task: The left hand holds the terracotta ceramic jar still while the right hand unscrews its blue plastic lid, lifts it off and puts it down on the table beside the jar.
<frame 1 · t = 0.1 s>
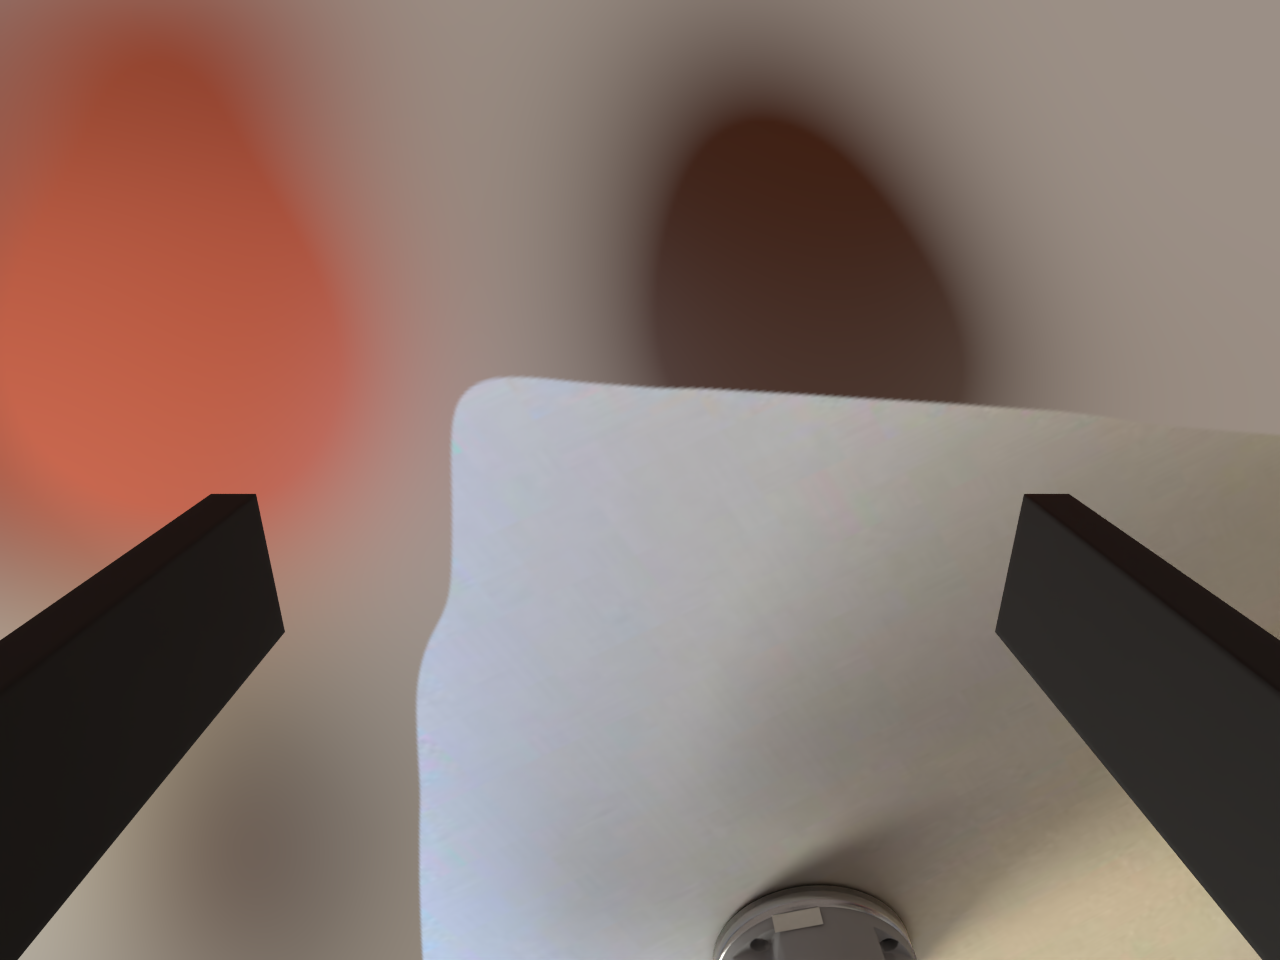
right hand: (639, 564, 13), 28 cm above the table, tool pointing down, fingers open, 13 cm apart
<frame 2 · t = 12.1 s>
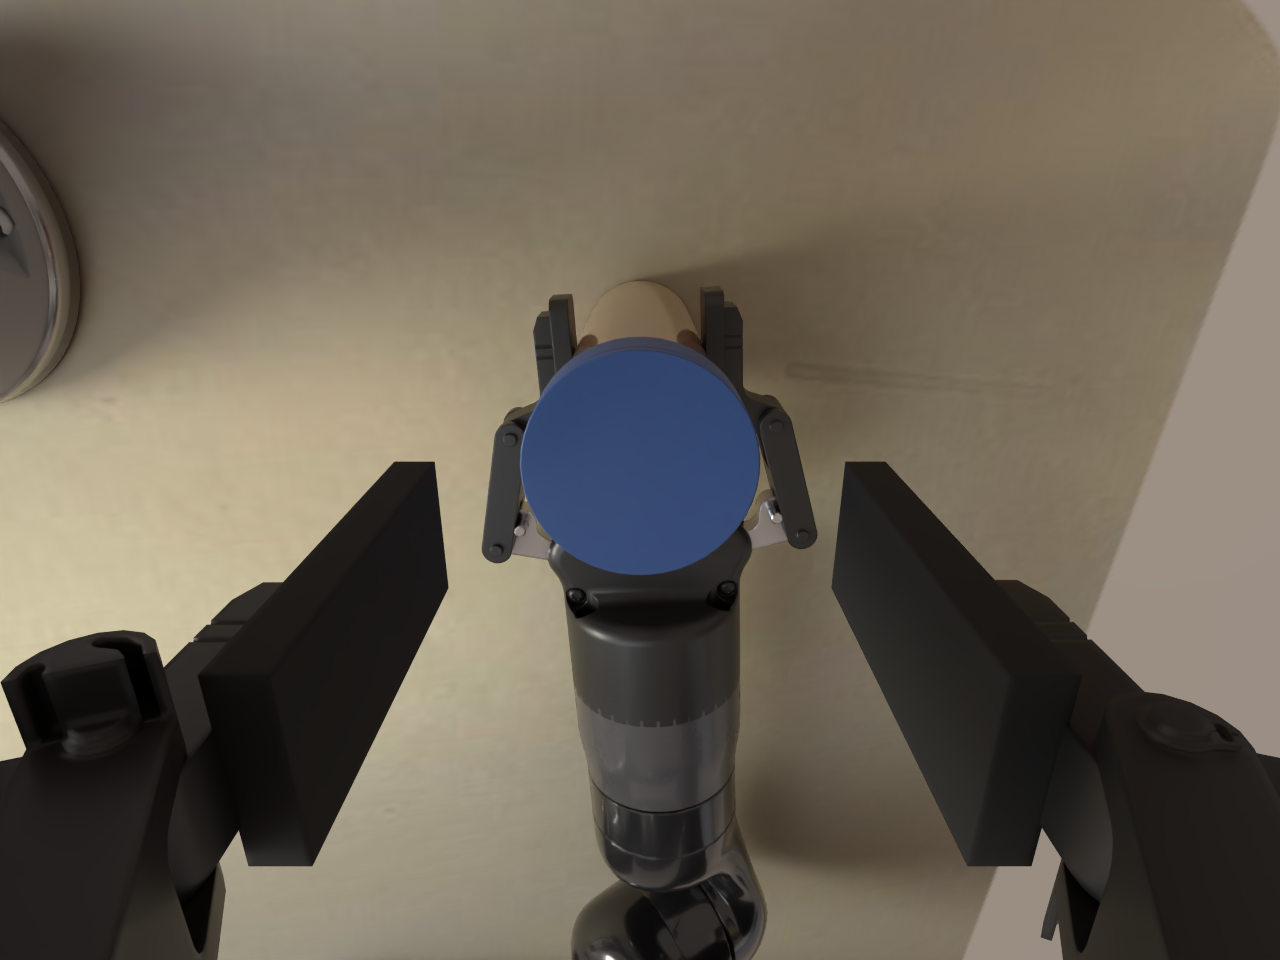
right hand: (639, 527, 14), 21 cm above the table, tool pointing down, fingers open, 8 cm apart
left hand: (635, 295, 27), fingers closed on jar, 5 cm apart
lid: (640, 464, 17), point 17 cm above the table, screwed on, not yet turned
jar: (639, 335, 34), on the table, touching left hand
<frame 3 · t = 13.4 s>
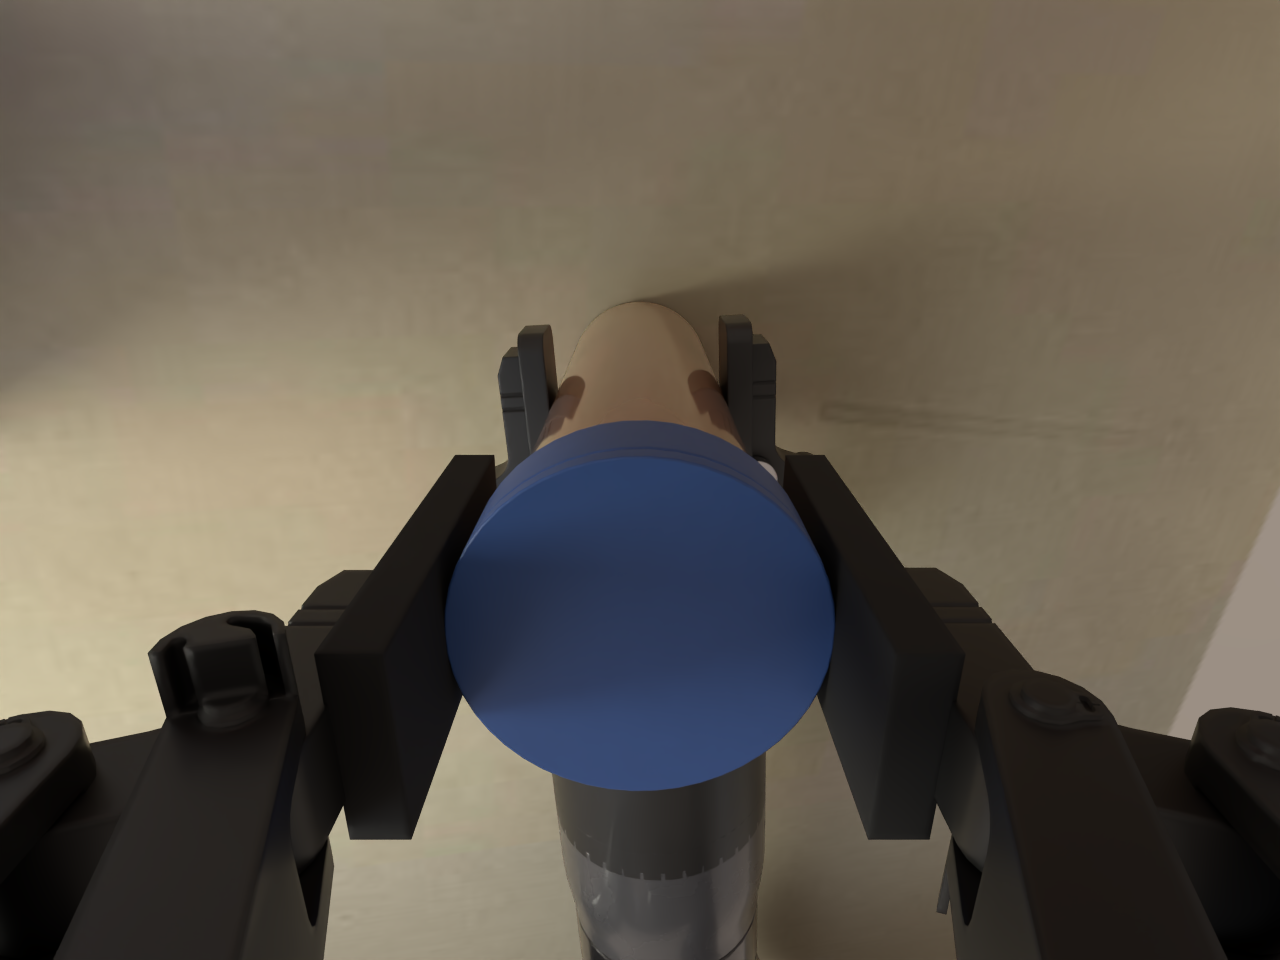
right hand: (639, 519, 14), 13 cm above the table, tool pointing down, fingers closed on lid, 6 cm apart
lid: (639, 627, 11), point 17 cm above the table, screwed on, not yet turned, touching right hand
jar: (639, 368, 27), on the table, touching left hand
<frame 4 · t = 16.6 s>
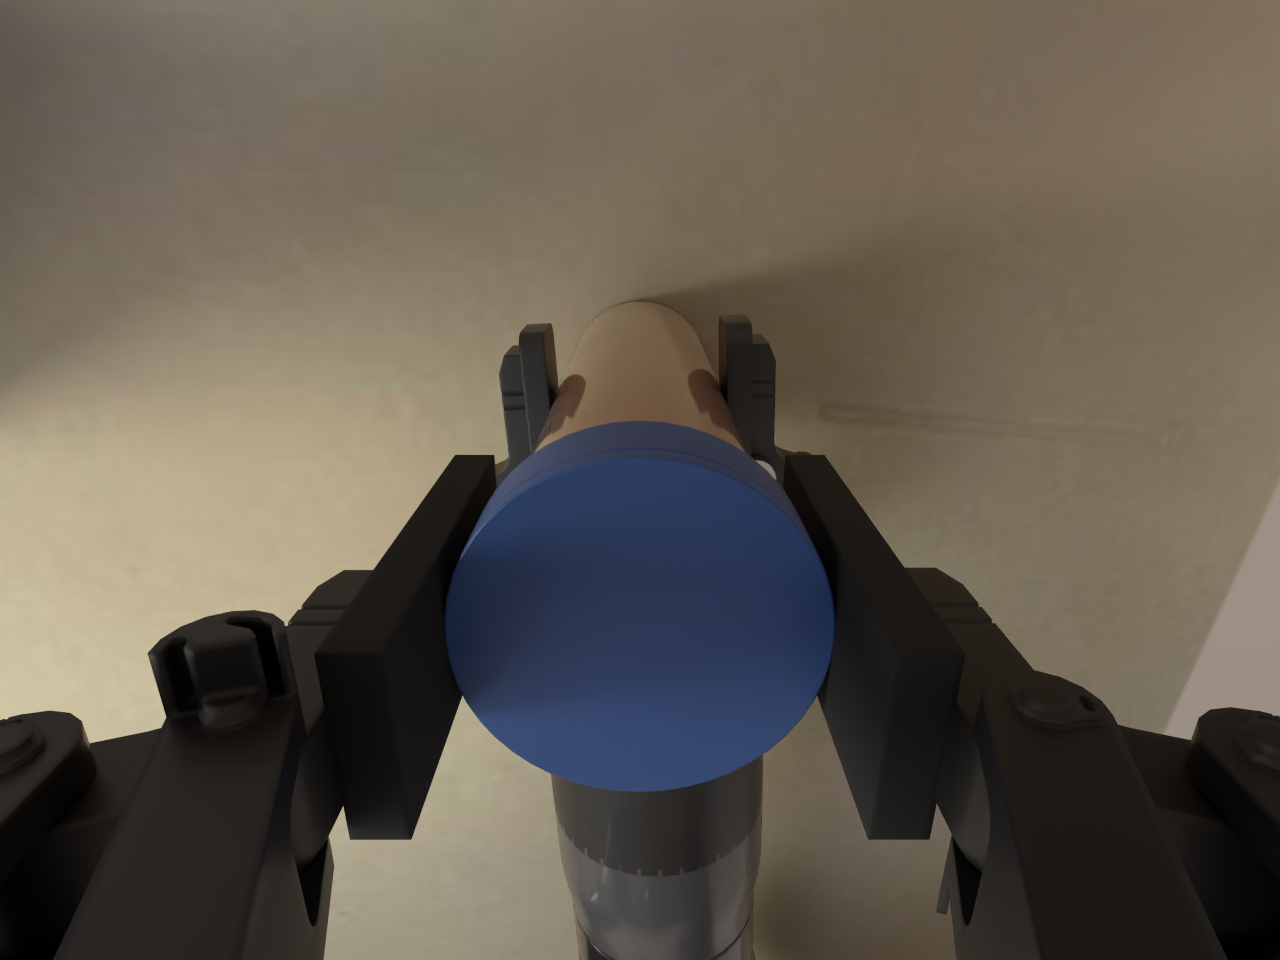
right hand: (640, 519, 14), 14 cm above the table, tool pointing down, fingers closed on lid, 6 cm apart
lid: (639, 628, 11), point 18 cm above the table, turned 93° so far, risen 0.2 cm, still on its thread, touching right hand
jar: (639, 368, 27), on the table, touching left hand
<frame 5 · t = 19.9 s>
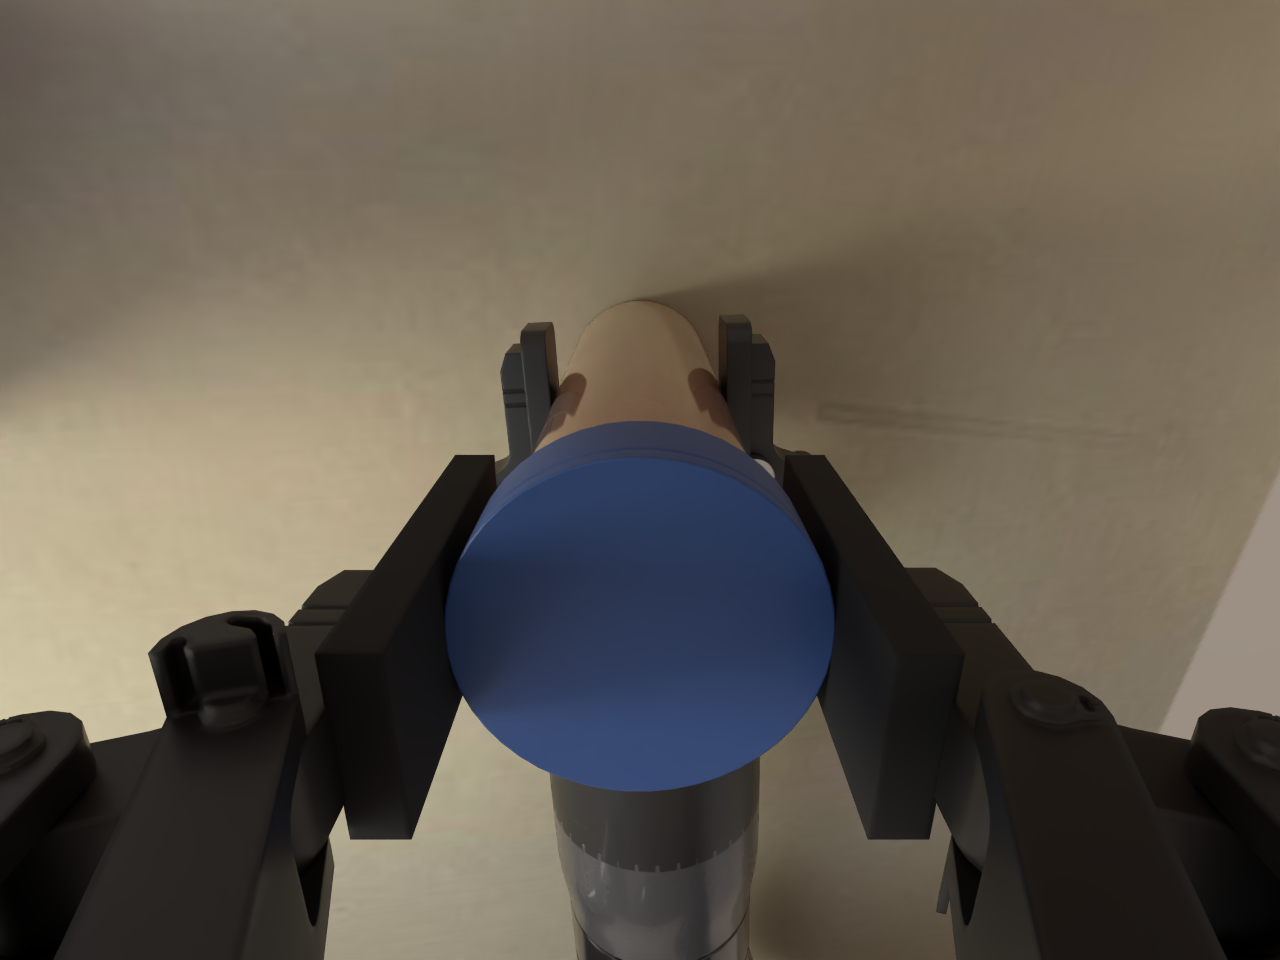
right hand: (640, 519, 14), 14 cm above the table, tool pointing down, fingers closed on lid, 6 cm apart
lid: (639, 628, 11), point 18 cm above the table, turned 187° so far, risen 0.3 cm, still on its thread, touching right hand
jar: (639, 367, 27), on the table, touching left hand
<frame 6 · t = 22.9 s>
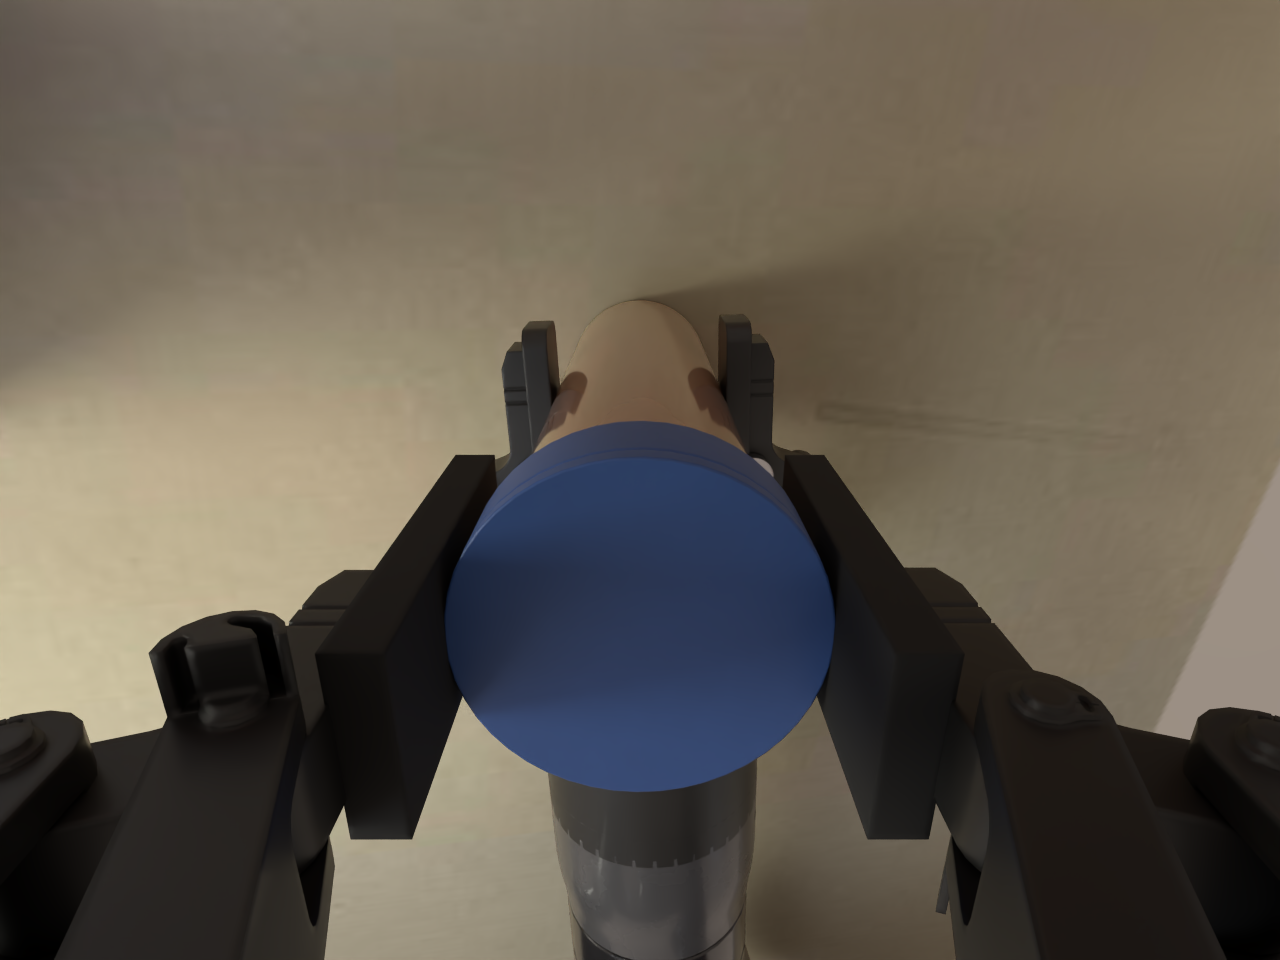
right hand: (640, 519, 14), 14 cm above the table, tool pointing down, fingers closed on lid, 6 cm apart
lid: (639, 628, 11), point 18 cm above the table, turned 280° so far, risen 0.5 cm, still on its thread, touching right hand
jar: (639, 366, 27), on the table, touching left hand
when the right hand's fingers open (0 cm above the table, at t = 31.1 s): lid drops 3 cm, point 1 cm above the table.
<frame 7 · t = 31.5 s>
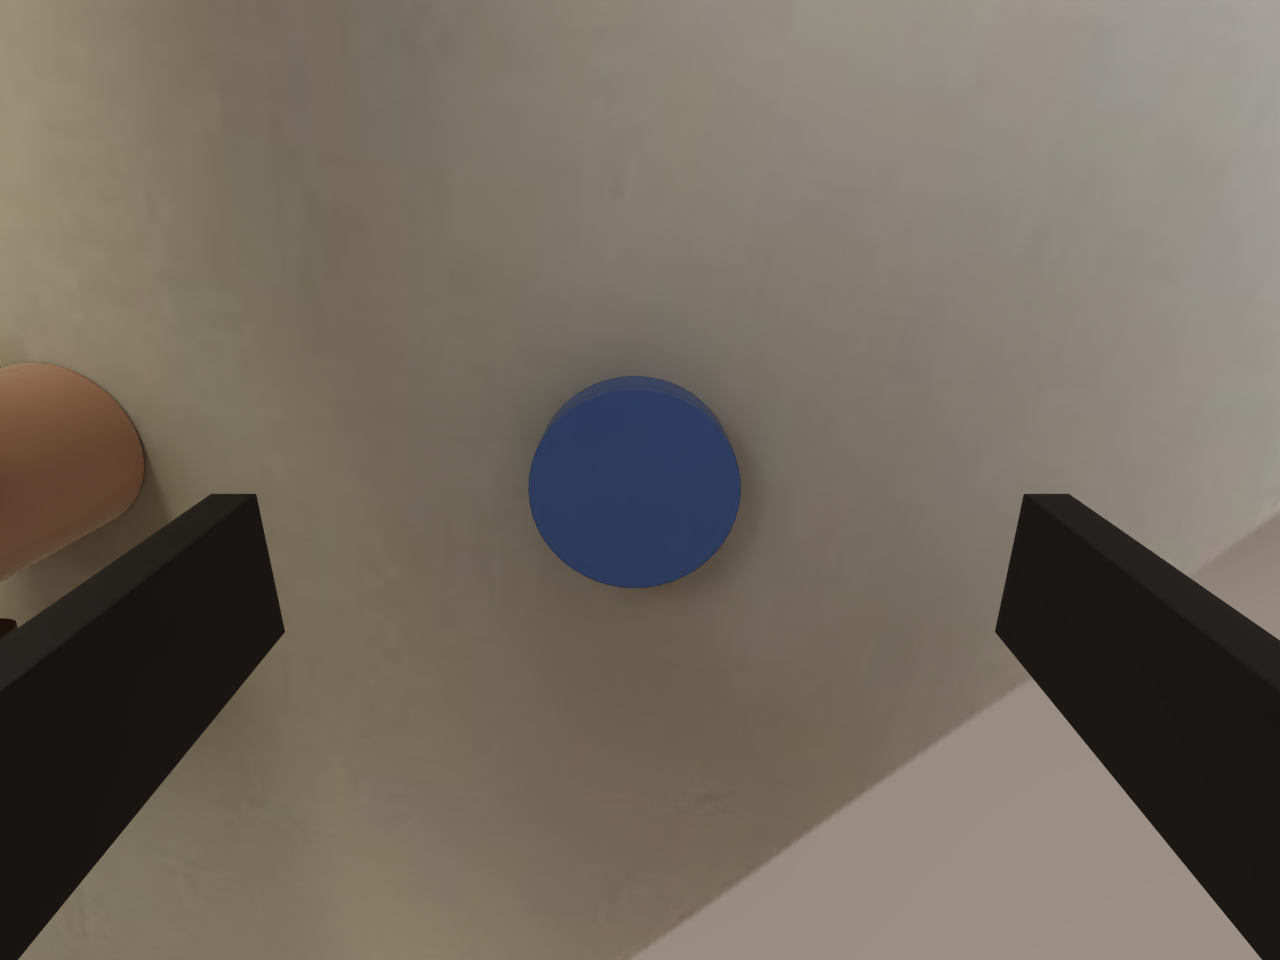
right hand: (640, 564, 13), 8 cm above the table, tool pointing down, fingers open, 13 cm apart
lid: (634, 489, 20), point 1 cm above the table, off its thread
jar: (56, 448, 21), on the table, touching left hand
when the left hand's fingers open (6 cm above the table, at t = 31.7 s): jar stays where it is, on the table.
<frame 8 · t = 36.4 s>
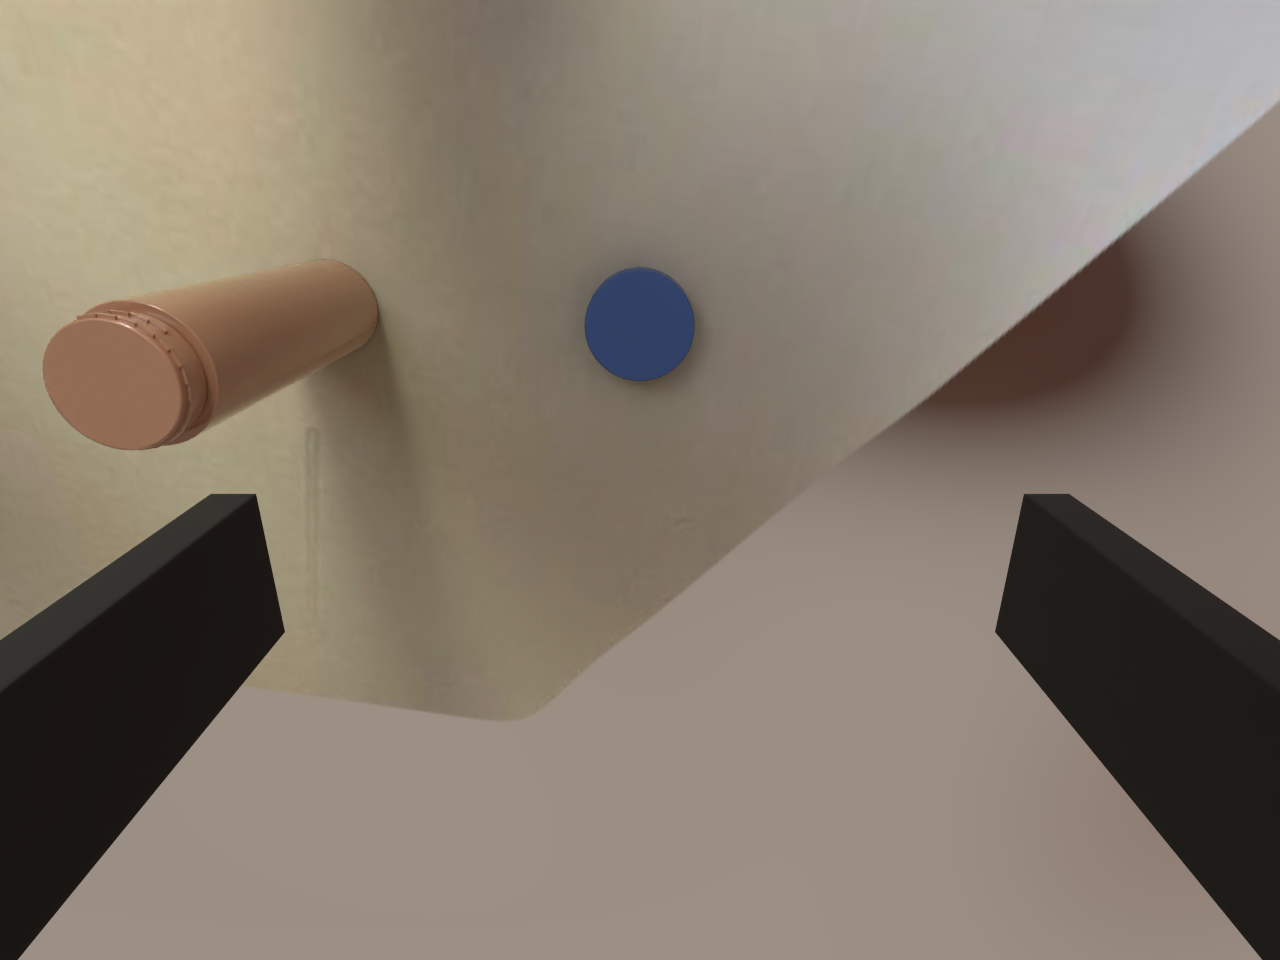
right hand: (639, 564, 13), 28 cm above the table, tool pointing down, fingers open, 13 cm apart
lid: (639, 326, 38), point 1 cm above the table, off its thread
jar: (331, 307, 39), on the table
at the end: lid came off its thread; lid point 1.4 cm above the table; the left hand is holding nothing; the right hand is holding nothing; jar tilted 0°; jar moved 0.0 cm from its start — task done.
